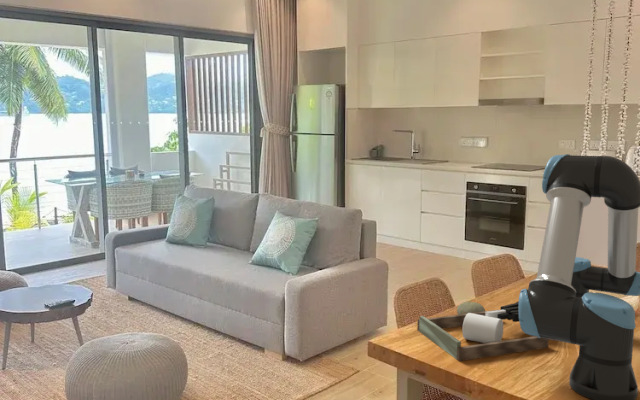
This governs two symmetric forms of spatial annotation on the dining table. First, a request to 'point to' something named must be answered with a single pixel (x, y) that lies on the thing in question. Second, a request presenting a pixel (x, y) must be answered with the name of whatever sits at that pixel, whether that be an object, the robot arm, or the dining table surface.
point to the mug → (482, 328)
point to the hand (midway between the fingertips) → (486, 316)
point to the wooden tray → (453, 345)
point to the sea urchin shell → (469, 308)
